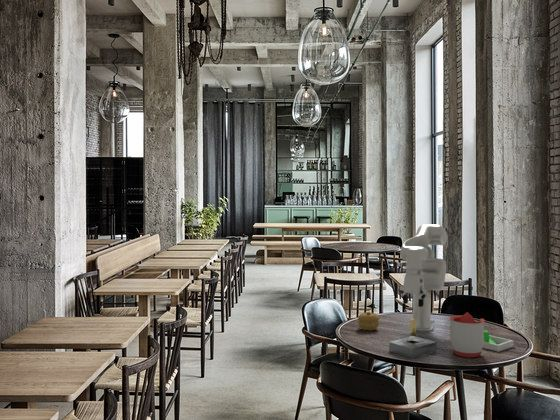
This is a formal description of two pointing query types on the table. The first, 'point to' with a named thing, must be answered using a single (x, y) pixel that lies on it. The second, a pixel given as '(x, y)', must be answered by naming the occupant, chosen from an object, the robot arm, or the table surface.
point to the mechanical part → (487, 338)
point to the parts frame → (501, 345)
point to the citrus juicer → (466, 335)
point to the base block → (412, 346)
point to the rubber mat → (409, 336)
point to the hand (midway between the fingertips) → (413, 305)
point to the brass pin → (413, 327)
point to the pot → (368, 321)
